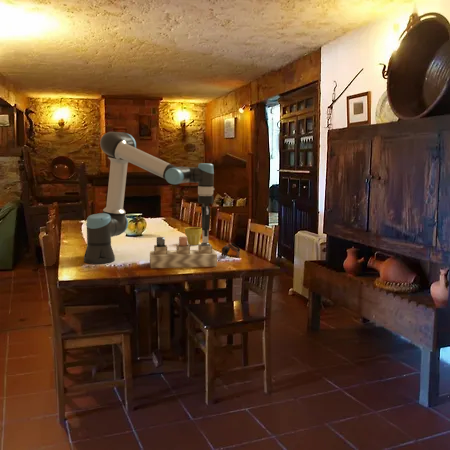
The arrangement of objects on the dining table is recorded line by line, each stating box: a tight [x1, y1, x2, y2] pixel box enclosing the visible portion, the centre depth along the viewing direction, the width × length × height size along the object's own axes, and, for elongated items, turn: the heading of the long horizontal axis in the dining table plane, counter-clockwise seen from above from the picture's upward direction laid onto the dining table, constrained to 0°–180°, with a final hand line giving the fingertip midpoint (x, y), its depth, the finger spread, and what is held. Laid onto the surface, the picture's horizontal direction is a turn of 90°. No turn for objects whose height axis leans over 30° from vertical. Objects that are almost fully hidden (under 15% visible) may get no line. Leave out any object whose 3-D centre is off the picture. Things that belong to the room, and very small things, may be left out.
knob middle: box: [178, 236, 188, 247], centre depth 245 cm, size 4×4×4 cm
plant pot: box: [184, 226, 203, 246], centre depth 299 cm, size 10×10×10 cm
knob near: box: [156, 236, 166, 247], centre depth 242 cm, size 4×4×4 cm
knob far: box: [200, 241, 210, 246], centre depth 247 cm, size 4×4×4 cm
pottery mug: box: [220, 242, 241, 258], centre depth 267 cm, size 12×10×8 cm
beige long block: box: [149, 243, 218, 269], centre depth 246 cm, size 32×12×10 cm, turn 101°
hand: (205, 242), depth 247 cm, fingers closed
